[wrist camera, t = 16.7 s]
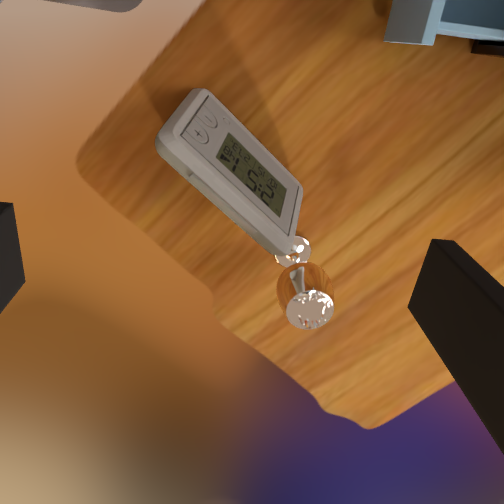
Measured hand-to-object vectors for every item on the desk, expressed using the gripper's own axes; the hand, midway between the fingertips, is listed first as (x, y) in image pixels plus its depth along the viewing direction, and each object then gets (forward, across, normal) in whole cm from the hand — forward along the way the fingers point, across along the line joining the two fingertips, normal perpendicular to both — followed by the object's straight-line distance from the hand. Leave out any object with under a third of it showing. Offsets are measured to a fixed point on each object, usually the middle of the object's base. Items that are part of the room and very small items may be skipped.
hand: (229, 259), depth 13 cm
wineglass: (+33, +10, -16) cm, 38 cm away
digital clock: (+33, +2, -5) cm, 33 cm away
